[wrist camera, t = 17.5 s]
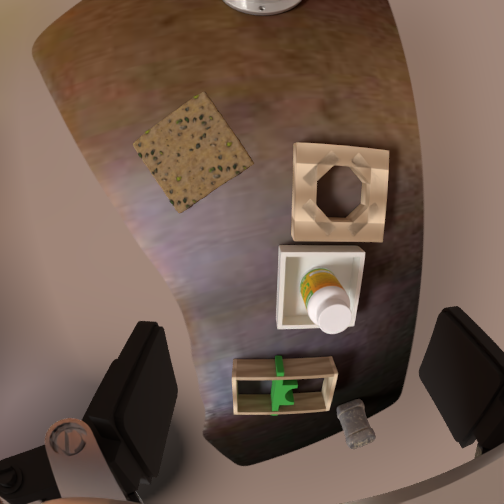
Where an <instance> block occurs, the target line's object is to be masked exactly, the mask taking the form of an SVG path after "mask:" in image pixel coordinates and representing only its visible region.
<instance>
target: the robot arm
mask: <svg viewBox="0 0 504 504" xmlns="http://www.w3.org/2000/svg"><path fill="white" fill-rule="evenodd" d="M223 1H224V2H225V3H226V4H227V5H229V6H230V7H232V8H234V9H236V10H238V11H241V12H244V13H247V14H253V15H274V14H279V13H283V12H285V11H288V10H290V9H292V8H294V7H295V6H297V5H298V4H299V3H300V2H301V1H302V0H223ZM419 377H420V379H421V381H422V383H423V384H424V386H425V388H426V389H427V391H428V393H429V394H430V396H431V397H432V399H433V401H434V403H435V405H436V406H437V408H438V410H439V412H440V413H441V415H442V417H443V419H444V421H445V422H446V424H447V426H448V428H449V430H450V432H451V433H452V435H453V437H454V439H455V440H456V441H457V442H459V444H460V445H461V447H462V448H464V447H466V446H468V445H471V444H473V443H474V441H475V440H476V439H477V441H478V444H477V449H476V454H475V459H473V460H471V461H469V462H467V463H465V464H463V465H461V466H459V467H456V468H454V469H452V470H450V471H447V472H445V473H443V474H440V475H438V476H435V477H433V478H430V479H427V480H425V481H422V482H419V483H416V484H414V485H411V486H408V487H405V488H401V489H398V490H395V491H392V492H388V493H385V494H381V495H377V496H373V497H369V498H365V499H361V500H357V501H352V502H347V503H341V504H504V352H503V351H502V350H501V349H500V348H499V347H498V346H497V344H496V343H495V342H493V340H492V339H491V338H490V337H489V336H488V335H487V334H486V333H485V332H484V331H483V330H482V329H481V328H480V327H479V326H478V325H477V324H476V323H475V322H474V321H473V320H472V319H471V318H470V317H469V316H468V315H467V314H466V313H465V312H464V311H463V310H462V309H461V308H459V307H458V306H456V307H455V306H454V307H448V308H444V309H443V310H442V312H441V313H440V314H439V316H438V318H437V322H436V324H435V328H434V331H433V334H432V337H431V340H430V343H429V345H428V348H427V351H426V353H425V356H424V359H423V361H422V364H421V366H420V369H419ZM177 393H178V388H177V383H176V379H175V375H174V371H173V367H172V363H171V359H170V354H169V350H168V345H167V341H166V337H165V332H164V328H163V327H159V326H158V323H157V322H150V321H139V322H138V323H137V325H136V326H135V328H134V330H133V332H132V334H131V335H130V337H129V339H128V341H127V342H126V344H125V346H124V348H123V350H122V351H121V353H120V355H119V357H118V359H115V360H114V361H113V362H112V363H111V365H110V367H109V369H108V371H107V373H106V374H105V376H104V378H103V380H102V382H101V384H100V386H99V387H98V389H97V391H96V393H95V396H94V397H93V399H92V401H91V403H90V405H89V407H88V409H87V411H86V413H85V415H84V417H83V419H82V420H79V419H73V418H67V419H62V420H60V421H58V422H56V423H54V424H53V425H52V426H51V427H50V428H49V429H48V431H47V433H46V436H45V445H43V446H40V447H37V448H34V449H32V450H29V451H26V452H23V453H20V454H17V455H15V456H11V457H9V458H5V459H3V460H1V461H0V504H144V503H143V502H142V500H141V499H140V497H139V496H138V494H137V493H136V490H138V486H139V483H144V484H149V485H150V484H151V480H152V477H157V476H158V473H159V469H160V465H161V460H162V456H163V451H164V448H165V443H166V439H167V435H168V431H169V427H170V423H171V418H172V415H173V411H174V407H175V403H176V399H177Z"/></svg>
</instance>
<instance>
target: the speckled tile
mask: <svg viewBox="0 0 504 504" xmlns="http://www.w3.org/2000/svg"><path fill="white" fill-rule="evenodd" d="M133 146H134V148H135V149H136V151H137V152H138V155H139V156H140V157H141V158H142V160H143V162H144V163H145V165H146V166H147V167H148V168H149V170H150V172H151V174H152V175H153V177H154V178H155V179H156V181H157V182H158V184H159V185H160V186H161V188H162V189H163V191H164V192H165V194H166V196H167V197H168V198H169V200H170V202H171V203H172V204H173V206H174V207H175V209H176V211H177V212H178V213H182V212H183V211H185V210H187V209H188V208H190V206H192V205H193V204H195V203H196V202H197V201H199V200H200V199H202V198H204V197H206V196H207V195H208V194H209V193H211V192H212V191H213V190H215V189H217V188H218V187H219V186H221V185H222V184H224V183H226V182H227V181H228V180H230V179H232V178H233V177H236V176H237V175H239V174H240V173H241V172H242V171H244V170H246V169H247V168H248V167H250V166H252V165H253V164H254V163H253V161H252V160H251V158H250V156H249V155H248V153H247V152H246V150H245V149H244V147H243V146H242V145H241V143H240V141H239V139H238V138H237V137H236V136H235V134H234V133H233V131H232V130H231V128H230V127H229V126H228V124H227V122H226V121H225V120H224V118H223V117H222V115H221V114H220V113H219V111H218V110H217V108H216V107H215V105H214V104H213V103H212V101H211V100H210V98H209V97H208V96H207V94H206V92H203V93H201V94H199V95H196V96H194V97H193V99H191V100H190V101H188V102H187V103H185V104H183V105H182V106H181V107H180V108H179V109H177V110H176V111H174V112H173V113H171V114H170V115H169V116H167V117H166V118H165V119H163V120H162V121H160V122H159V123H158V124H156V125H155V126H154V127H153V128H151V129H150V130H147V131H146V132H145V134H144V135H142V136H141V137H140V138H139V139H137V140H136V141H135V142H134V143H133Z"/></svg>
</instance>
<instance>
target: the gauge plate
mask: <svg viewBox="0 0 504 504" xmlns="http://www.w3.org/2000/svg"><path fill="white" fill-rule="evenodd" d="M334 165H339V166H349V167H350V168H351V170H352V171H353V172H354V173H355V174H356V176H357V177H358V178H359V179H360V180H361V182H362V192H361V204H360V205H359V206H357V207H356V208H355V209H354V210H353V211H352V212H351V213H350V214H349V215H348V216H347V217H346V218H339V217H326V215H325V214H324V213H323V212H322V211H321V210H320V209H319V208H318V207H317V205H316V194H317V181H318V180H319V179H320V178H321V177H322V176H323V175H324V174H325V173H326V172H327V171H328V170H329V169H330V168H332V167H333V166H334ZM388 171H389V151H387V150H380V149H372V148H363V147H353V146H343V145H331V144H316V143H298V142H297V143H294V144H293V193H292V225H291V236H292V238H293V240H294V241H337V242H383V233H384V224H385V214H386V202H387V189H388Z"/></svg>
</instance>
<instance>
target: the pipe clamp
mask: <svg viewBox="0 0 504 504" xmlns="http://www.w3.org/2000/svg"><path fill="white" fill-rule="evenodd" d="M275 365H276V374H277V377H279V376H284V367H283V360H282V356H275ZM297 387H298V384H297V379H291V380H272V388H271V401H272V404H271V405H272V411H278V409H279V405H294V397H293V391H292V389H294V388H297ZM271 415H278V414H271Z"/></svg>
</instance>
